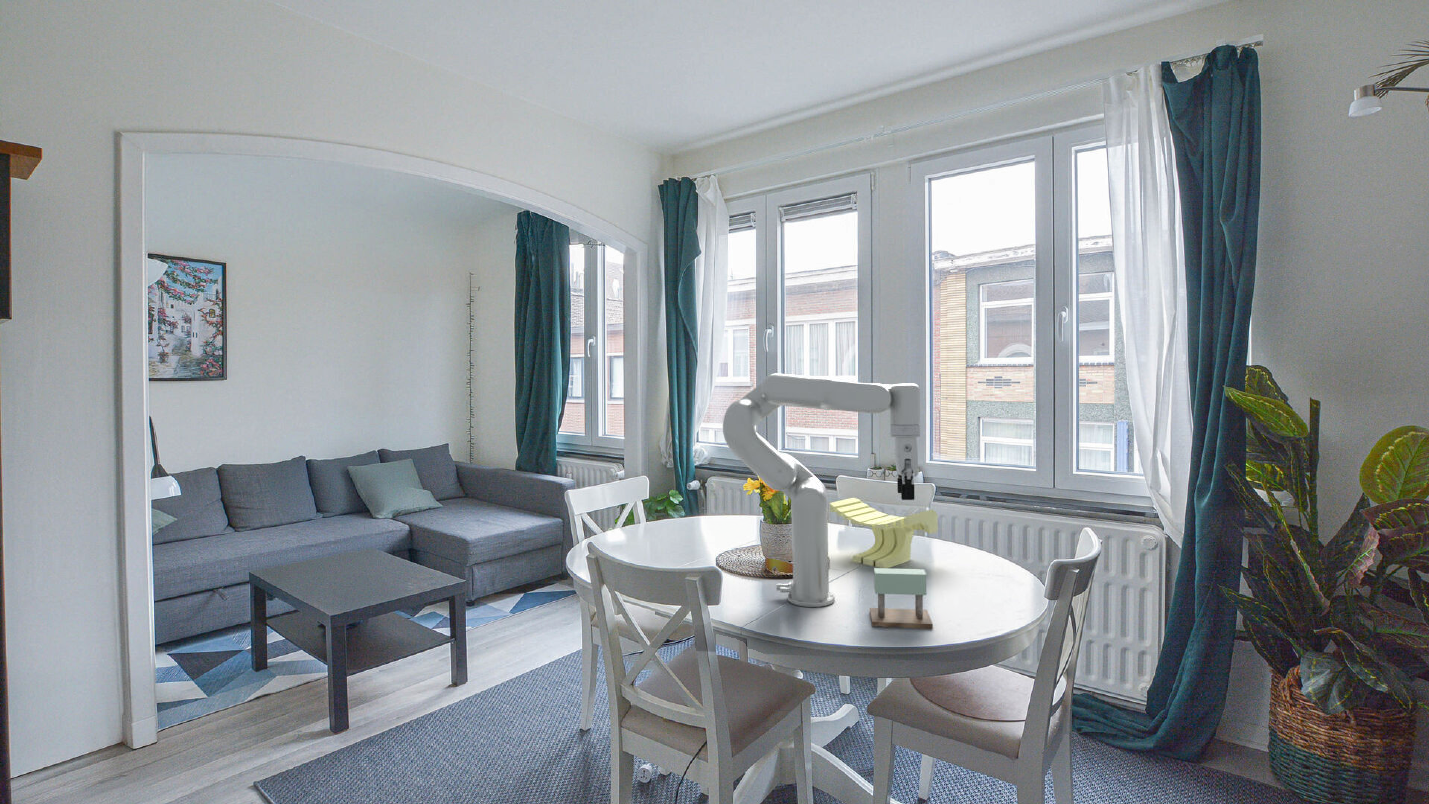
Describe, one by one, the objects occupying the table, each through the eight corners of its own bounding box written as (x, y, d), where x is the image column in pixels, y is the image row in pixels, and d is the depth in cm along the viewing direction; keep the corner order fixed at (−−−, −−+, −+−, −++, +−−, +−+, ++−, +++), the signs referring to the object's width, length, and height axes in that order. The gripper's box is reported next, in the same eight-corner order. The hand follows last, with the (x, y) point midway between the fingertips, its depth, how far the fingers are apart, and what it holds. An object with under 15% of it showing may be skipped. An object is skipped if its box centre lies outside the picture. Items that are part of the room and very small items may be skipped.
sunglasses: (756, 570, 220) (757, 554, 220) (786, 567, 231) (788, 552, 231) (792, 579, 210) (793, 562, 210) (822, 575, 221) (823, 559, 221)
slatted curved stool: (937, 563, 223) (937, 507, 222) (909, 574, 212) (908, 515, 211) (859, 547, 245) (858, 496, 244) (830, 556, 234) (829, 502, 234)
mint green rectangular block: (926, 595, 170) (926, 574, 170) (875, 593, 172) (875, 573, 172) (924, 589, 175) (923, 569, 175) (874, 588, 177) (874, 568, 177)
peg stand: (872, 626, 170) (872, 597, 170) (869, 612, 180) (869, 584, 180) (932, 628, 168) (932, 599, 168) (926, 614, 178) (926, 586, 177)
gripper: (924, 434, 176) (925, 502, 176) (915, 428, 193) (916, 490, 193) (893, 434, 177) (894, 502, 177) (887, 428, 194) (888, 490, 195)
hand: (905, 496), depth 185 cm, fingers open, 9 cm apart
